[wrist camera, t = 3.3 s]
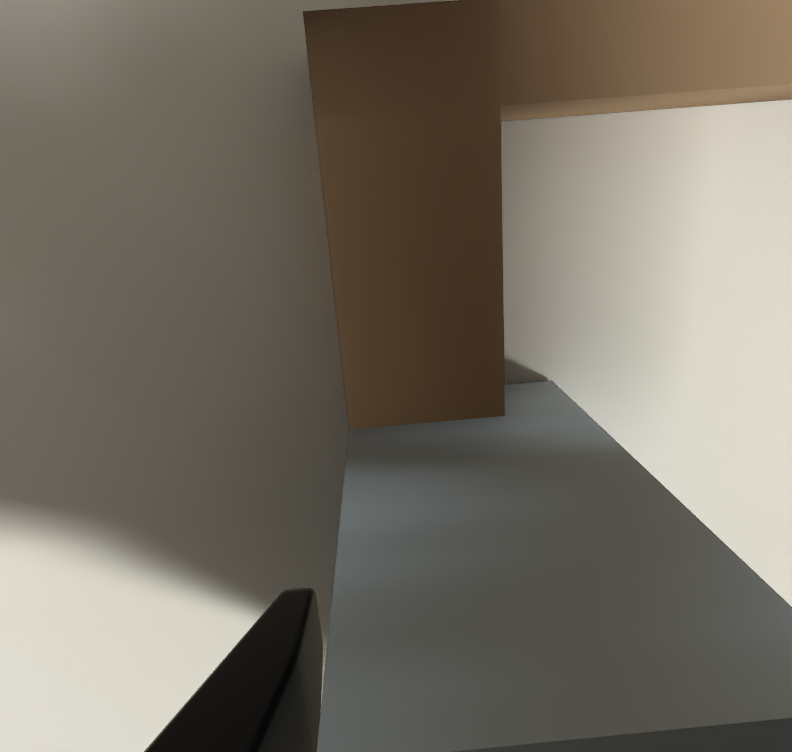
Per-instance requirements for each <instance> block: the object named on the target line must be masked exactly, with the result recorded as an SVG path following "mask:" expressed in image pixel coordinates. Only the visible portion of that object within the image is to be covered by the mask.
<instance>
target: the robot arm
mask: <svg viewBox="0 0 792 752" xmlns="http://www.w3.org/2000/svg"><path fill="white" fill-rule="evenodd" d="M322 665H323V641H322V632H321V625H320V618H319V611H318V604H317V597H316V593H315V591H314V590H313V589H312V588H300V589H289V590H285V591H283V592H282V593H281V594H280V595H279V596H278V597H277V598H276V600H275V601H274V602H273V603H272V604H271V605H270V607H269V608H268V609H267V610H266V611H265V612H264V613H263V615H262V616H261V617H260V618H259V619H258V620H257V622H256V623H255V624H254V625H253V626H252V627H251V629H250V630H249V631H248V632H247V633H246V634H245V635H244V637H243V638H242V639H241V640H240V641H239V642H238V644H237V645H236V646H235V647H234V648H233V649H232V651H231V652H230V653H229V654H228V655H227V656H226V657H225V659H224V660H223V661H222V662H221V663H220V664H219V666H218V667H217V668H216V669H215V670H214V671H213V673H212V674H211V675H210V676H209V677H208V678H207V679H206V681H205V682H204V683H203V684H202V685H201V686H200V688H199V689H198V690H197V691H196V692H195V693H194V694H193V696H192V697H191V698H190V699H189V700H188V701H187V703H186V704H185V705H184V706H183V707H182V708H181V710H180V711H179V712H178V713H177V714H176V715H175V716H174V718H173V719H172V720H171V721H170V722H169V723H168V725H167V726H166V727H165V728H164V729H163V730H162V732H161V733H160V734H159V735H158V736H157V737H156V738H155V740H154V741H153V742H152V743H151V744H150V745H149V747H148V748H147V749H146V750H145V751H144V752H317V744H318V734H319V724H320V714H321V689H322Z"/></svg>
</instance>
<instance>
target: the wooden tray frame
mask: <svg viewBox="0 0 792 752" xmlns="http://www.w3.org/2000/svg"><path fill="white" fill-rule="evenodd" d="M303 16H304V25H305V34H306V43H307V52H308V61H309V70H310V79H311V89H312V98H313V107H314V116H315V125H316V134H317V143H318V152H319V161H320V171H321V180H322V189H323V198H324V207H325V216H326V225H327V234H328V243H329V252H330V262H331V271H332V280H333V289H334V298H335V307H336V316H337V325H338V334H339V344H340V353H341V362H342V371H343V380H344V389H345V398H346V407H347V416H348V425H349V434H348V444H347V454H346V464H345V474H344V484H343V494H342V504H341V514H340V524H339V534H338V544H337V554H336V564H335V574H334V584H333V594H332V604H331V614H330V624H329V634H328V644H327V654H326V664H325V674H324V684H323V694H322V704H321V714H320V724H319V734H318V744H317V752H792V607H791V606H790V605H789V604H788V603H787V602H786V601H785V600H784V599H783V598H782V597H781V596H780V595H778V594H777V593H776V592H775V591H774V590H773V589H772V588H771V587H770V586H769V585H768V584H767V583H766V582H765V581H764V580H763V579H762V578H760V577H759V576H758V575H757V574H756V573H755V572H754V571H753V570H752V569H751V568H750V567H749V566H748V565H747V564H746V563H745V562H744V561H742V560H741V559H740V558H739V557H738V556H737V555H736V554H735V553H734V552H733V551H732V550H731V549H730V548H729V547H728V546H727V545H726V544H724V543H723V542H722V541H721V540H720V539H719V538H718V537H717V536H716V535H715V534H714V533H713V532H712V531H711V530H710V529H709V528H708V527H706V526H705V525H704V524H703V523H702V522H701V521H700V520H699V519H698V518H697V517H696V516H695V515H694V514H693V513H692V512H691V511H690V510H688V509H687V508H686V507H685V506H684V505H683V504H682V503H681V502H680V501H679V500H678V499H677V498H676V497H675V496H674V495H673V494H672V493H670V492H669V491H668V490H667V489H666V488H665V487H664V486H663V485H662V484H661V483H660V482H659V481H658V480H657V479H656V478H655V477H653V476H652V475H651V474H650V473H649V472H648V471H647V470H646V469H645V468H644V467H643V466H642V465H641V464H640V463H639V462H638V461H637V460H635V459H634V458H633V457H632V456H631V455H630V454H629V453H628V452H627V451H626V450H625V449H624V448H623V447H622V446H621V445H620V444H619V443H617V442H616V441H615V440H614V439H613V438H612V437H611V436H610V435H609V434H608V433H607V432H606V431H605V430H604V429H603V428H602V427H601V426H599V425H598V424H597V423H596V422H595V421H594V420H593V419H592V418H591V417H590V416H589V415H588V414H587V413H586V412H585V411H584V410H583V409H581V408H580V407H579V406H578V405H577V404H576V403H575V402H574V401H573V400H572V399H571V398H570V397H569V396H568V395H567V394H566V393H565V392H563V391H562V390H561V389H560V388H559V387H558V386H557V385H556V384H555V383H554V382H553V381H542V382H530V383H519V384H507V385H504V317H503V248H502V180H501V121H511V120H524V119H537V118H550V117H564V116H577V115H590V114H603V113H617V112H630V111H643V110H656V109H670V108H683V107H696V106H709V105H723V104H736V103H749V102H762V101H776V100H789V99H792V0H458V1H444V2H430V3H415V4H401V5H387V6H373V7H359V8H345V9H331V10H317V11H303Z"/></svg>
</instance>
